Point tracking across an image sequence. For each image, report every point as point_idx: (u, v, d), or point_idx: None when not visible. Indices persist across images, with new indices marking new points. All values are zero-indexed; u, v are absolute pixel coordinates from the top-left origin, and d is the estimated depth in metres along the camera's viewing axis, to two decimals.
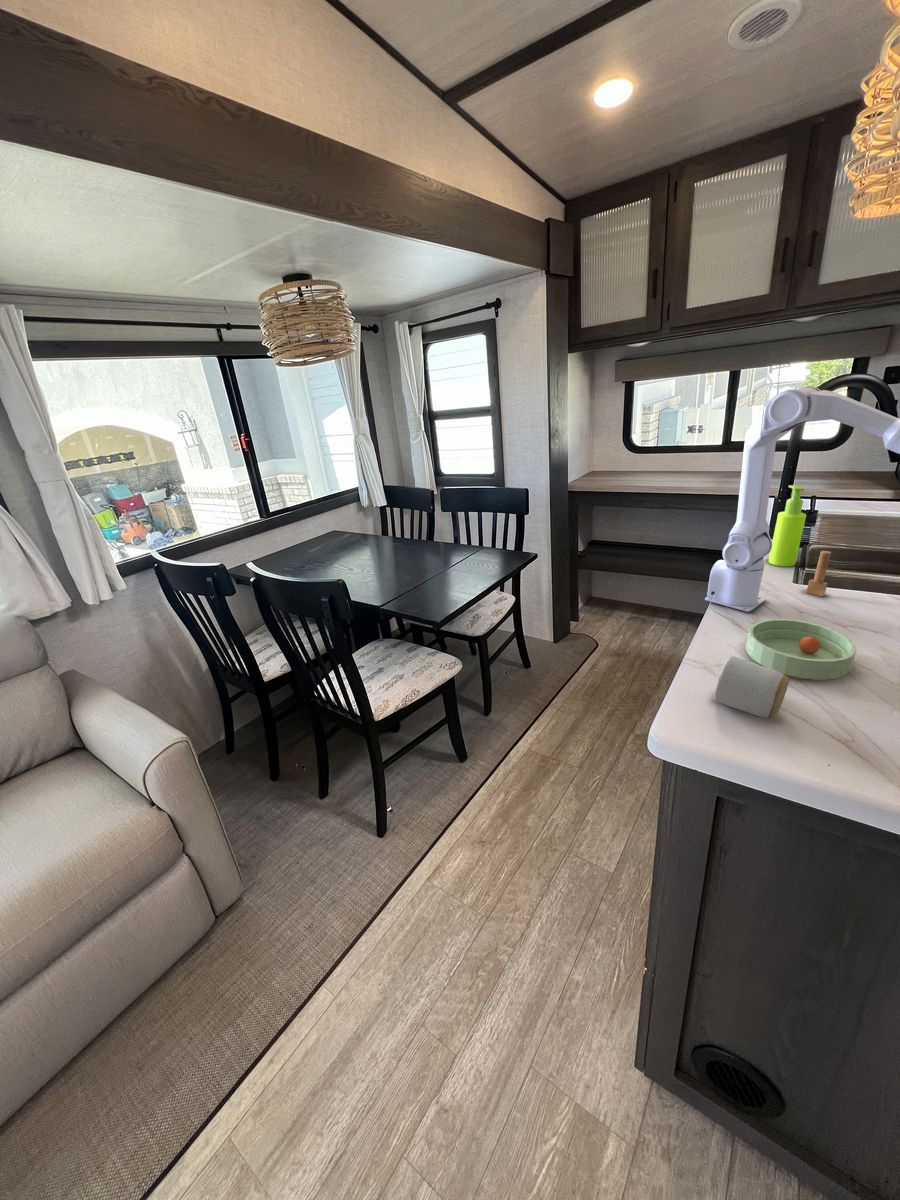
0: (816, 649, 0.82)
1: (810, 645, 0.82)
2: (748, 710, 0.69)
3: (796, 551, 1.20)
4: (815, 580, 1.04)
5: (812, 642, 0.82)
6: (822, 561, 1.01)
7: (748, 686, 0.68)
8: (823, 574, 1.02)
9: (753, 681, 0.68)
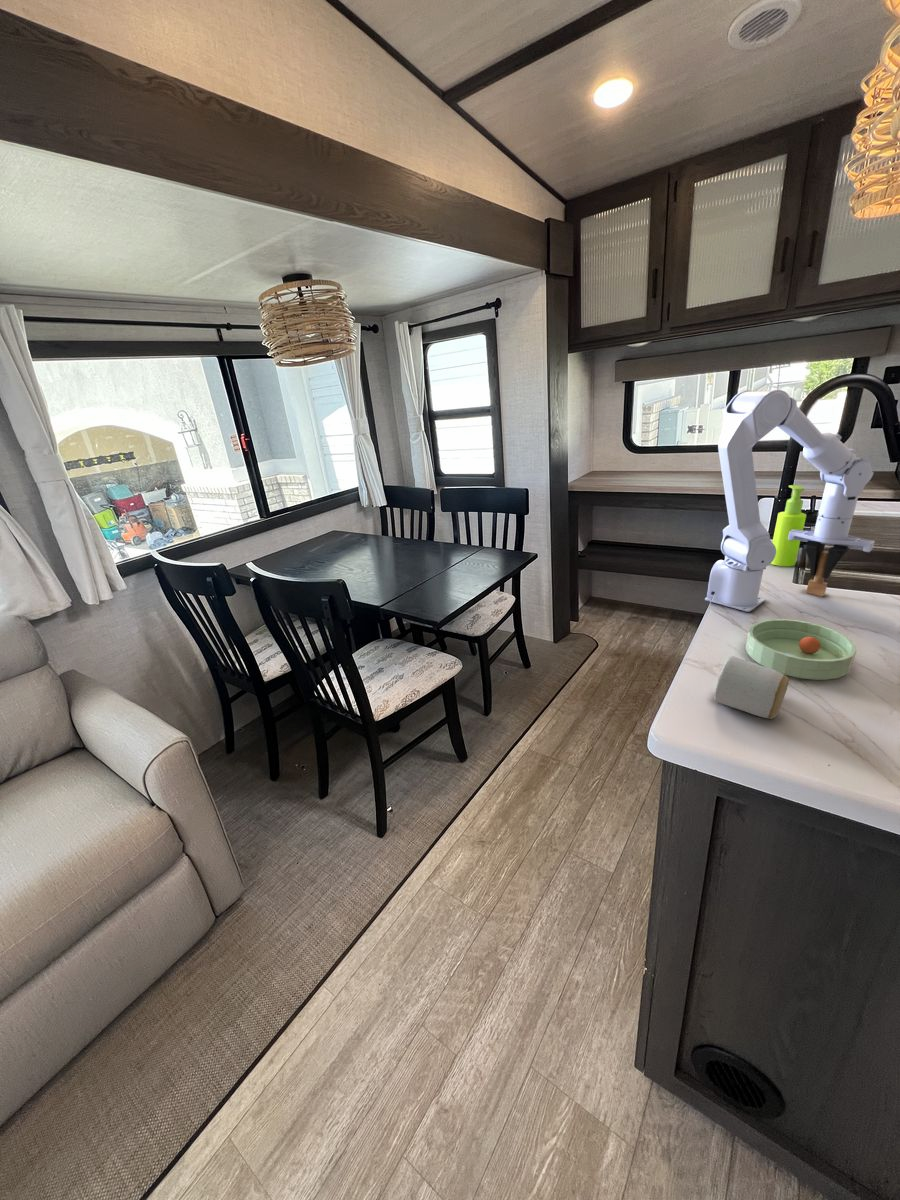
0: (816, 649, 0.82)
1: (810, 645, 0.82)
2: (748, 710, 0.69)
3: (796, 551, 1.20)
4: (815, 580, 1.04)
5: (812, 642, 0.82)
6: (822, 561, 1.02)
7: (748, 686, 0.68)
8: None
9: (753, 681, 0.68)
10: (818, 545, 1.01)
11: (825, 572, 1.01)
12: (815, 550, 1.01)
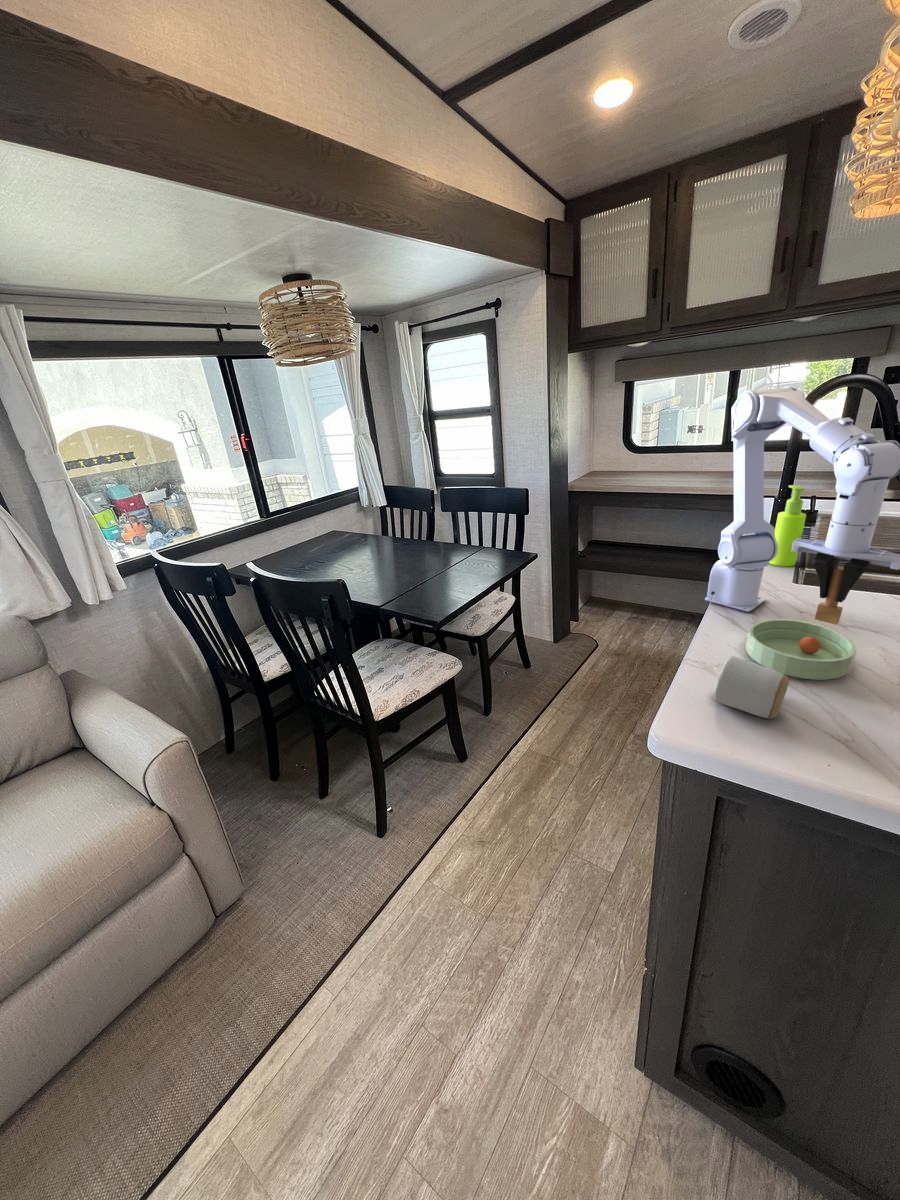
0: (816, 649, 0.82)
1: (810, 645, 0.82)
2: (748, 710, 0.69)
3: None
4: (826, 604, 0.81)
5: (812, 642, 0.82)
6: (836, 579, 0.78)
7: (748, 686, 0.68)
8: None
9: (753, 681, 0.68)
10: (830, 559, 0.78)
11: (839, 594, 0.78)
12: (826, 566, 0.77)
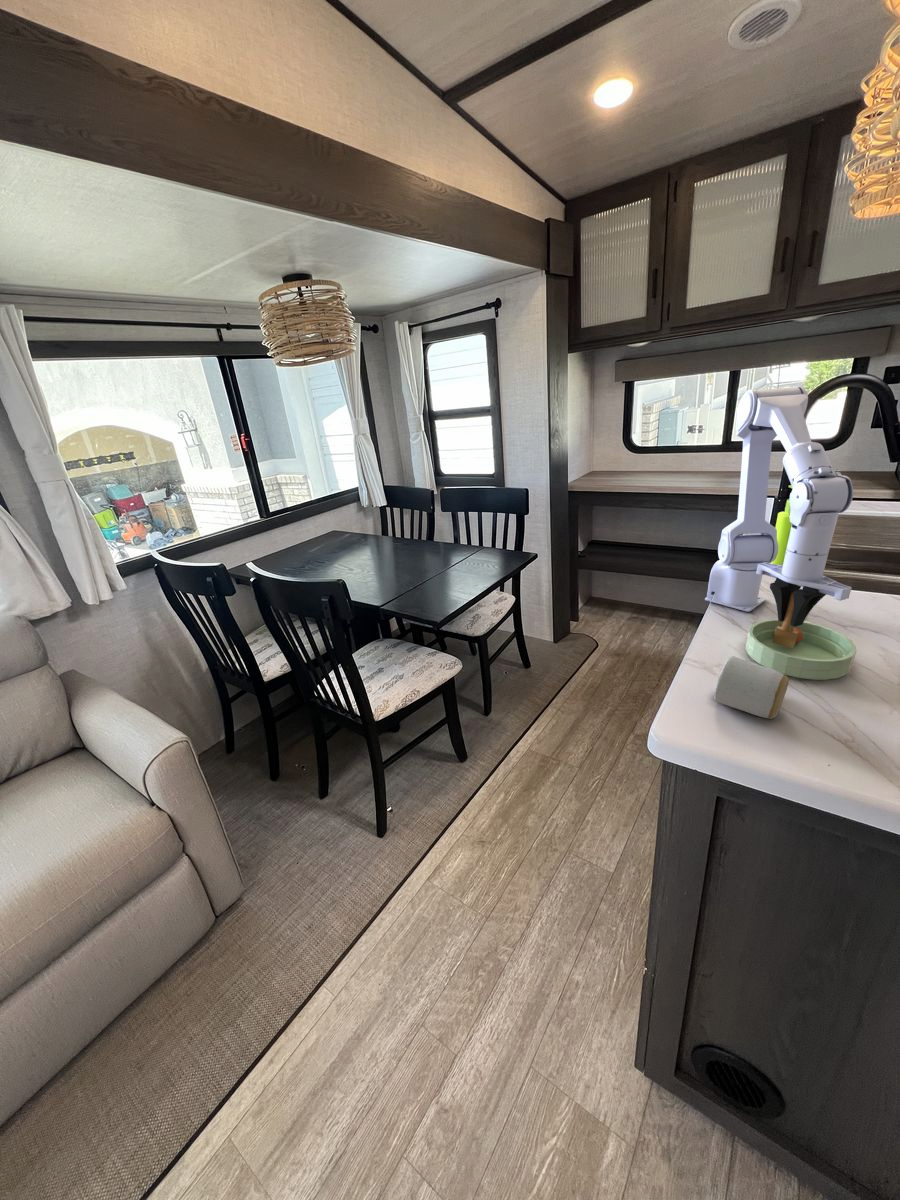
0: (797, 631, 0.85)
1: None
2: (748, 710, 0.69)
3: None
4: (783, 628, 0.84)
5: None
6: (793, 605, 0.82)
7: (748, 686, 0.68)
8: None
9: (753, 681, 0.68)
10: (786, 584, 0.82)
11: (792, 619, 0.82)
12: (780, 590, 0.81)
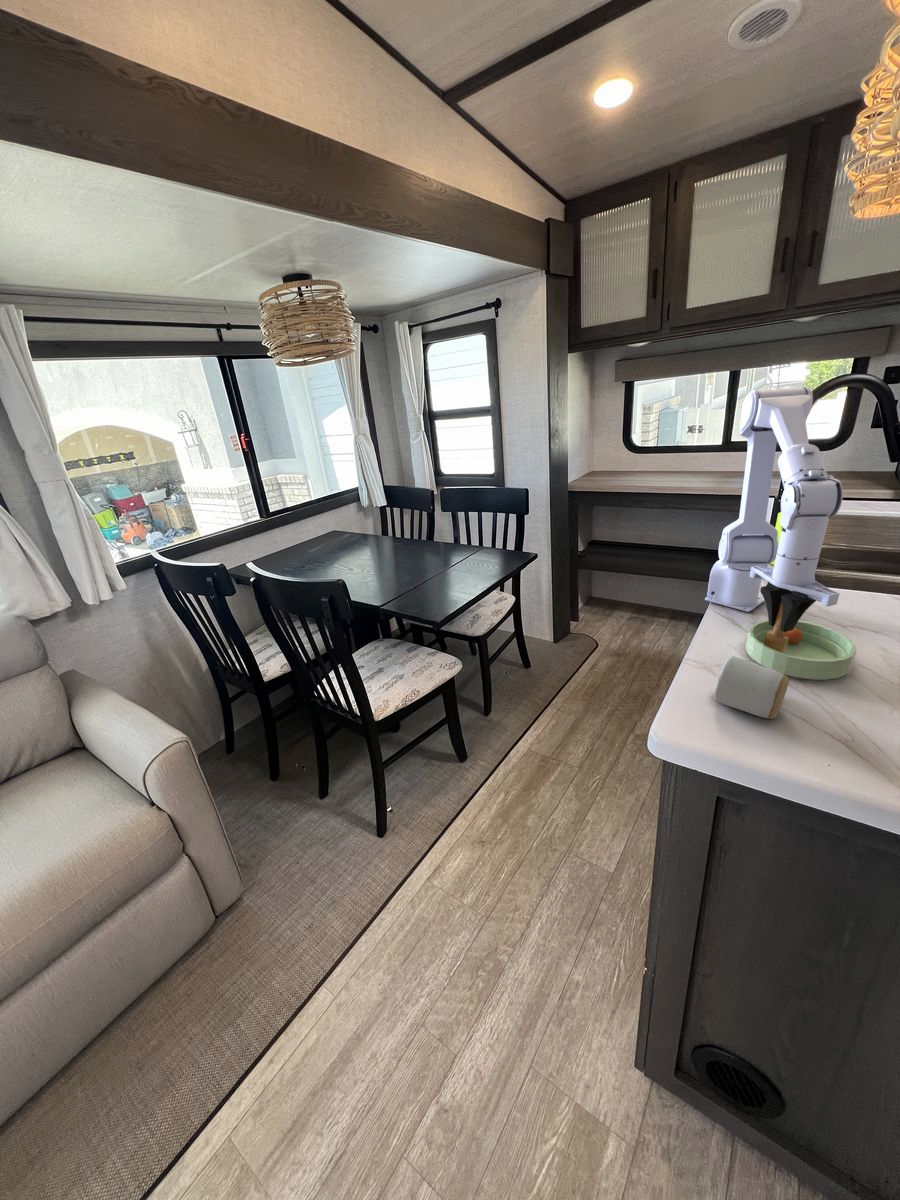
0: (797, 631, 0.85)
1: None
2: (748, 710, 0.69)
3: None
4: (773, 632, 0.83)
5: None
6: None
7: (748, 686, 0.68)
8: None
9: (753, 681, 0.68)
10: (777, 589, 0.80)
11: (782, 624, 0.80)
12: (769, 594, 0.80)
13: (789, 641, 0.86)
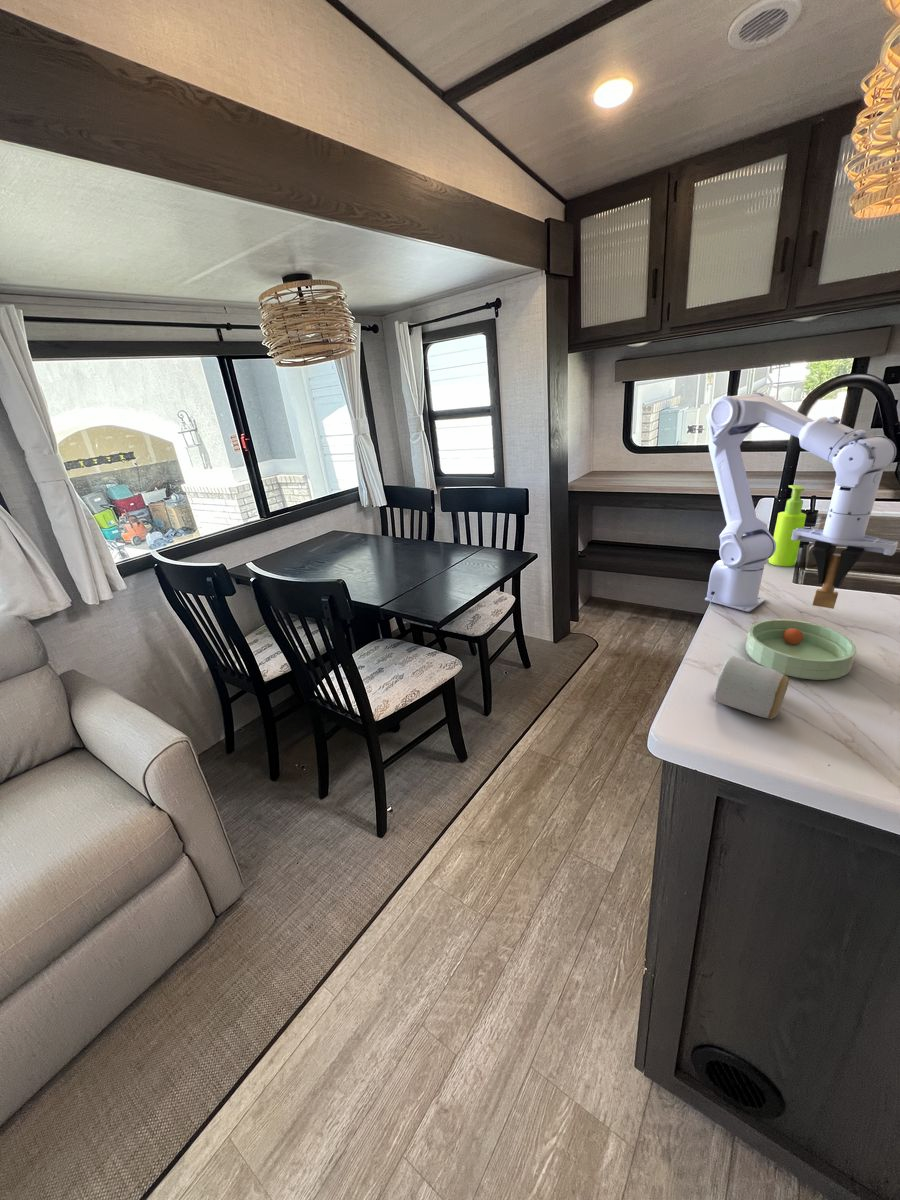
0: (798, 632, 0.85)
1: None
2: (748, 710, 0.69)
3: (796, 551, 1.20)
4: (825, 589, 0.86)
5: None
6: (835, 566, 0.84)
7: (748, 686, 0.68)
8: None
9: (753, 681, 0.68)
10: (828, 547, 0.84)
11: (836, 579, 0.84)
12: (824, 553, 0.83)
13: (789, 642, 0.86)
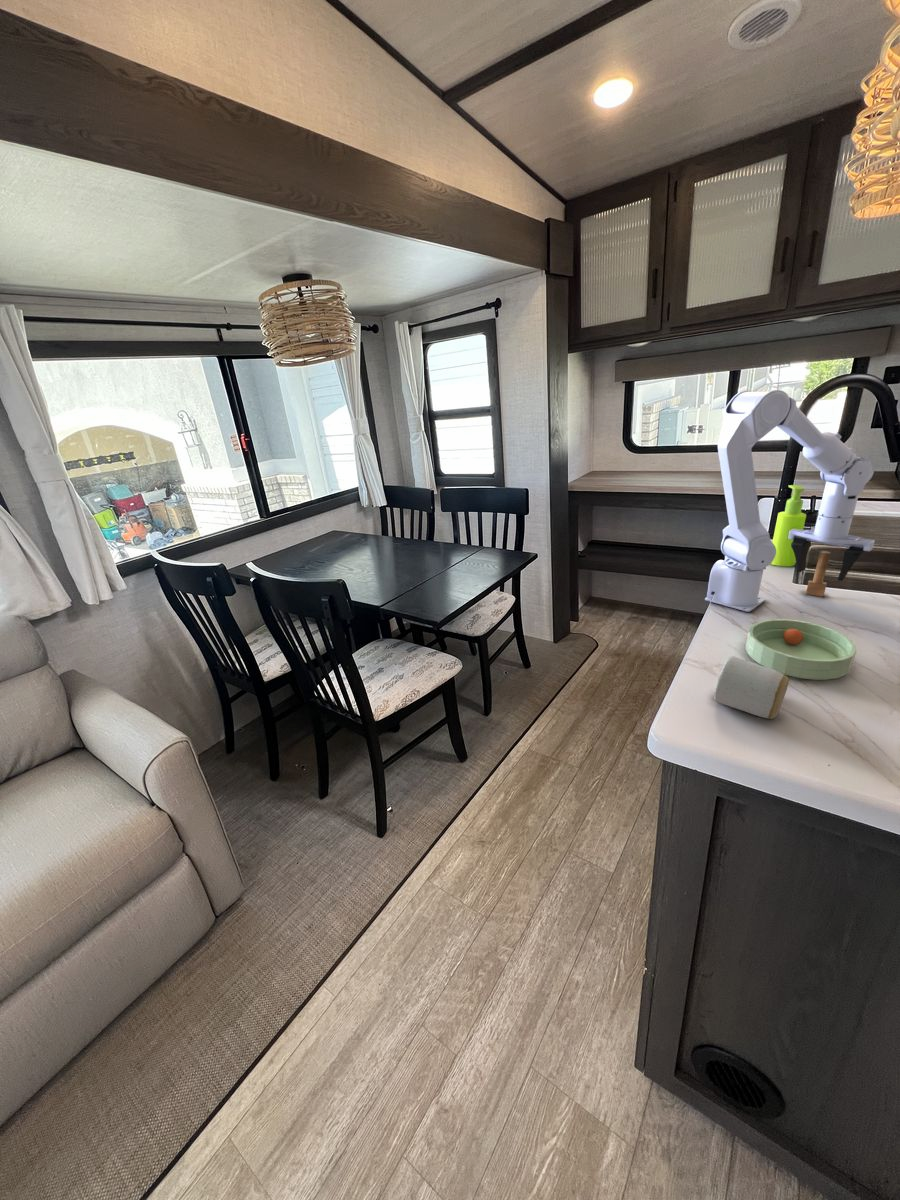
0: (798, 634, 0.84)
1: (798, 630, 0.85)
2: (748, 710, 0.69)
3: None
4: (815, 581, 1.03)
5: (801, 632, 0.85)
6: (823, 561, 1.01)
7: (748, 686, 0.68)
8: (823, 574, 1.02)
9: (753, 681, 0.68)
10: (804, 542, 1.03)
11: (840, 574, 0.99)
12: (801, 547, 1.02)
13: (789, 643, 0.86)
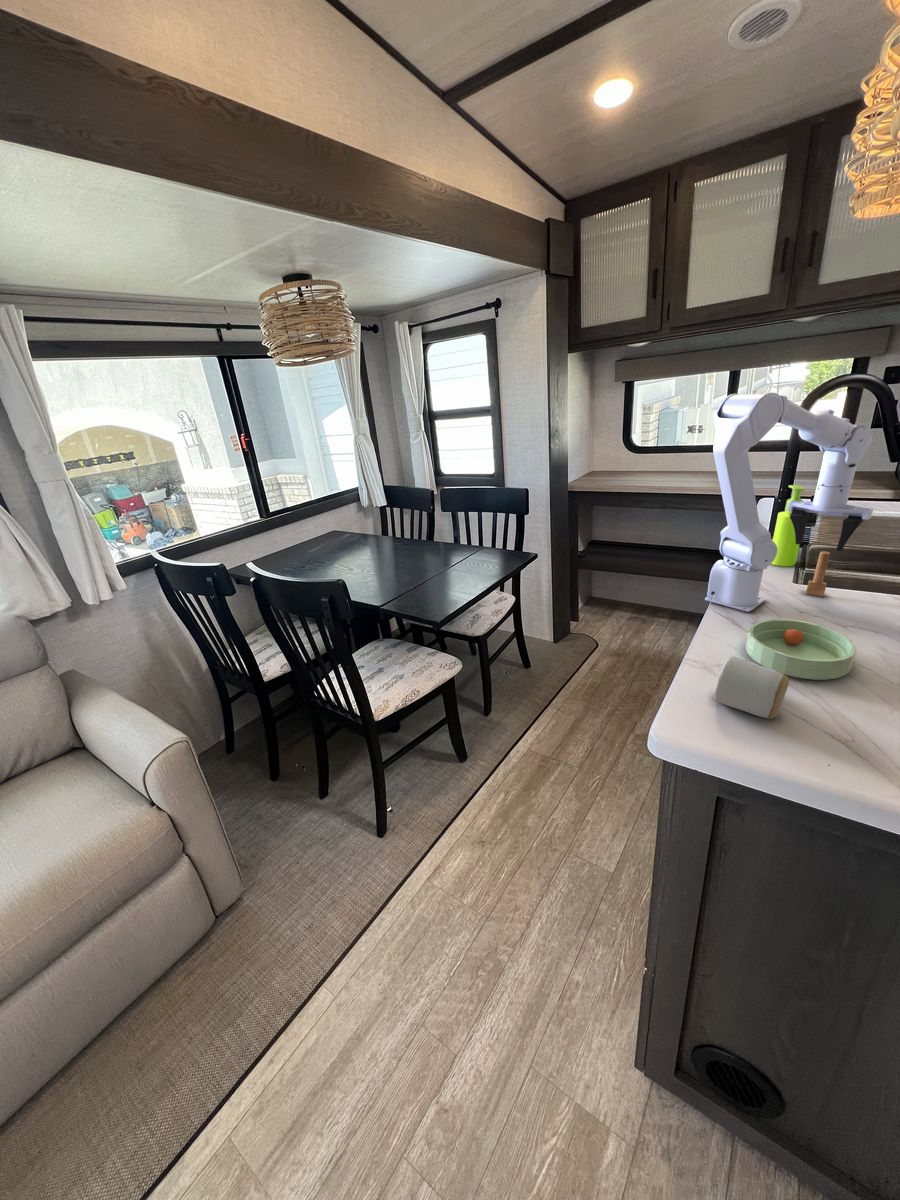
0: (798, 635, 0.84)
1: None
2: (748, 710, 0.69)
3: (796, 551, 1.20)
4: (815, 581, 1.03)
5: None
6: (823, 561, 1.01)
7: (748, 686, 0.68)
8: (823, 574, 1.02)
9: (753, 681, 0.68)
10: (803, 513, 1.03)
11: (839, 544, 1.00)
12: (800, 518, 1.03)
13: (789, 643, 0.86)
